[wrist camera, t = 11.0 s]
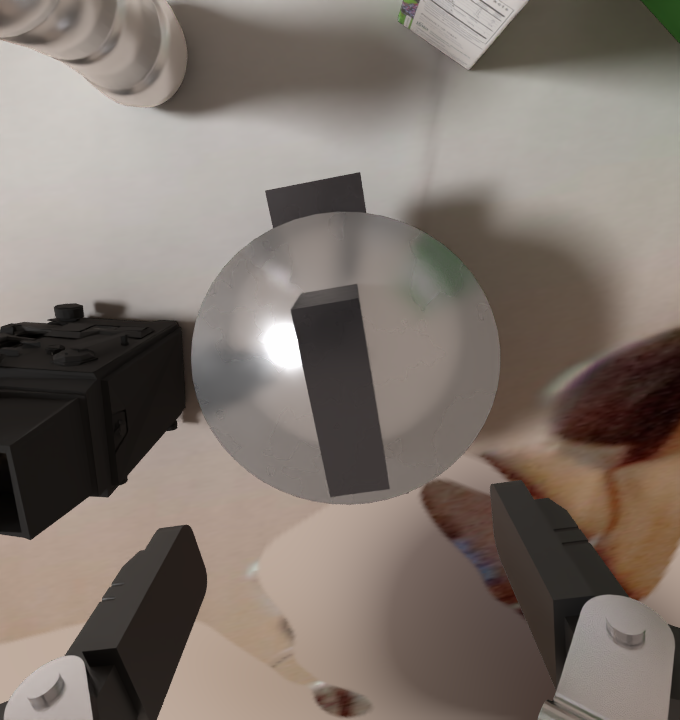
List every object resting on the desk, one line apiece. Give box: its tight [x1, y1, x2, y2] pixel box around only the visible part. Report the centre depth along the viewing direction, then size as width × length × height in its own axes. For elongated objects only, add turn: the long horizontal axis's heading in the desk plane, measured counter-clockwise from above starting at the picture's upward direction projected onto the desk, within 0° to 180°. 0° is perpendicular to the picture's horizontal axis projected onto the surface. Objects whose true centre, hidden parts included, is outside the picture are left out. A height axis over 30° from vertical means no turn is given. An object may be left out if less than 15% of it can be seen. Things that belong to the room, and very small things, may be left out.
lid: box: [191, 212, 500, 505], centre depth 22 cm, size 16×16×5 cm
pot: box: [265, 172, 409, 494], centre depth 29 cm, size 19×15×11 cm
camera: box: [0, 303, 185, 540], centre depth 26 cm, size 10×14×20 cm
